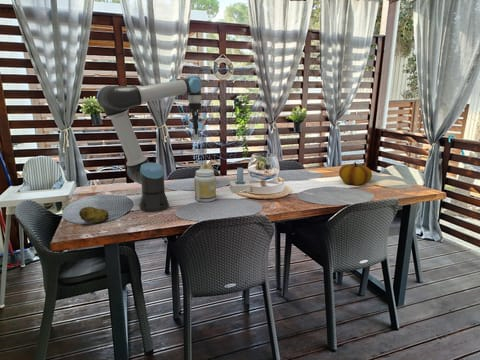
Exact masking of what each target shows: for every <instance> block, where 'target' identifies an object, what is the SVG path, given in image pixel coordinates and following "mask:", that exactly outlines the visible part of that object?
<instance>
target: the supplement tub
mask: <svg viewBox="0 0 480 360" xmlns="http://www.w3.org/2000/svg"><path fill="white" fill-rule="evenodd" d="M199 169H200V168H199ZM199 169H197V170H195V175H194V177H193V179H194V183H193V184H194V199H195V200H196V201H197V202H201V203H209V202H212V201H215V200H216V198H217V191H216V190H217V188H216V187H217V186H216V182H217V181H216V180H217V179H216V175H215V170H211V169H200V170H199Z"/></svg>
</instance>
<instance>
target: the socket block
mask: <svg viewBox="0 0 480 360" xmlns="http://www.w3.org/2000/svg"><path fill="white" fill-rule="evenodd" d="M249 187H251V188H252V184H251V183H250V181H249V180H247V179H243V184H237V180H229V189H230V191H231V193H232V194H235V193H236V192H240V191H243V190H245V189H247V188H249ZM240 193H241V192H240Z"/></svg>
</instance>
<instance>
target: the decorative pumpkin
mask: <svg viewBox="0 0 480 360" xmlns="http://www.w3.org/2000/svg"><path fill="white" fill-rule="evenodd" d="M338 176H339V178H340V179H341V180H342V181H343V182H344V183H345V184H347V185H354V186H360V185H366V184H368V183H369V182H370V181H371V179H372V177H373V172H372V171H371V168H369V167H368V166H366V165H365V164H363V163H360V164H357V162H356V161H355V162H353V163H349V164H348V163H346V164H343V165H341V166H340V168H339V170H338Z"/></svg>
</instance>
